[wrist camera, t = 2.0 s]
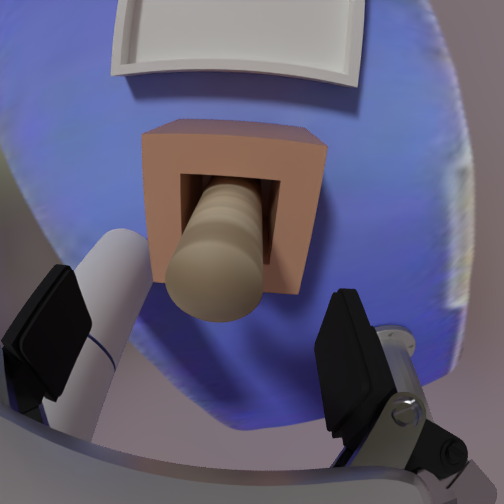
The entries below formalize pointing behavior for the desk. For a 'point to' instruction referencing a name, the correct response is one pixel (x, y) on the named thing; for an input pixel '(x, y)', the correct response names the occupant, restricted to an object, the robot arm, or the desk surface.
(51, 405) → the cylindrical container
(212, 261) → the dowel pin
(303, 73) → the tray
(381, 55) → the desk surface
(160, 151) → the deep holder
